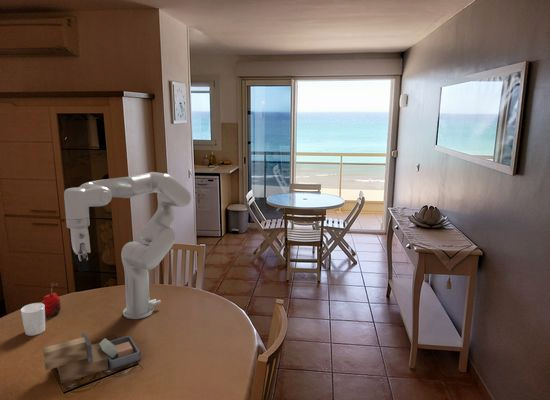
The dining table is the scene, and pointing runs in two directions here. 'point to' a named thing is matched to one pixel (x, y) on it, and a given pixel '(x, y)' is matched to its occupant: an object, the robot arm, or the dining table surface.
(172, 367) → the dining table surface
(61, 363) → the scraper
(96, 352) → the wooden block
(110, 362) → the tray
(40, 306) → the white cup
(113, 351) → the tile sage
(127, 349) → the tile terracotta
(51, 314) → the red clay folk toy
